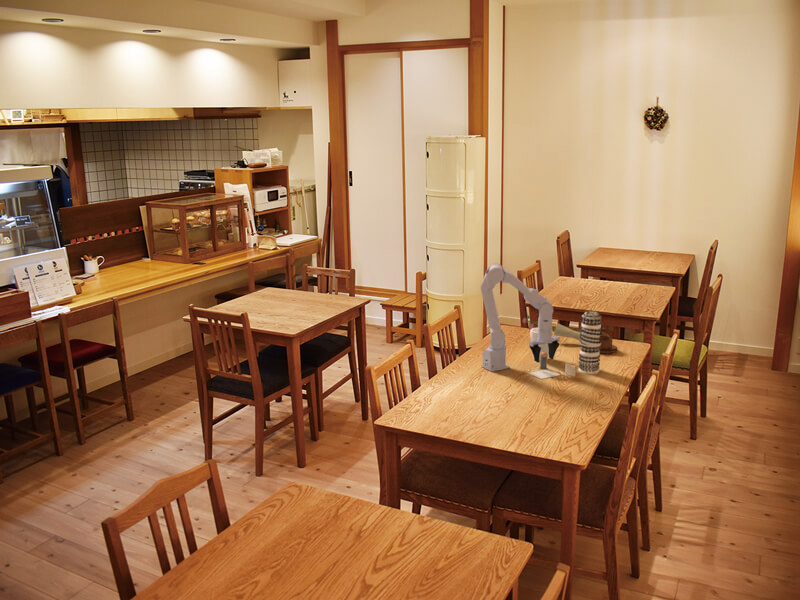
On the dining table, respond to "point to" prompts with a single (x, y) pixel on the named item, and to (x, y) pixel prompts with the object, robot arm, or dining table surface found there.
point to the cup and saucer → (606, 345)
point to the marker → (543, 361)
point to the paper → (544, 374)
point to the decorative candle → (590, 342)
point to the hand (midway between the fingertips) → (543, 360)
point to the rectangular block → (570, 369)
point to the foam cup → (543, 346)
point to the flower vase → (558, 330)
